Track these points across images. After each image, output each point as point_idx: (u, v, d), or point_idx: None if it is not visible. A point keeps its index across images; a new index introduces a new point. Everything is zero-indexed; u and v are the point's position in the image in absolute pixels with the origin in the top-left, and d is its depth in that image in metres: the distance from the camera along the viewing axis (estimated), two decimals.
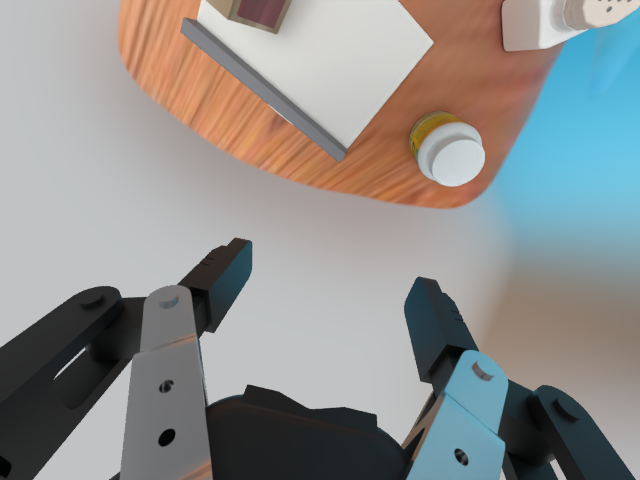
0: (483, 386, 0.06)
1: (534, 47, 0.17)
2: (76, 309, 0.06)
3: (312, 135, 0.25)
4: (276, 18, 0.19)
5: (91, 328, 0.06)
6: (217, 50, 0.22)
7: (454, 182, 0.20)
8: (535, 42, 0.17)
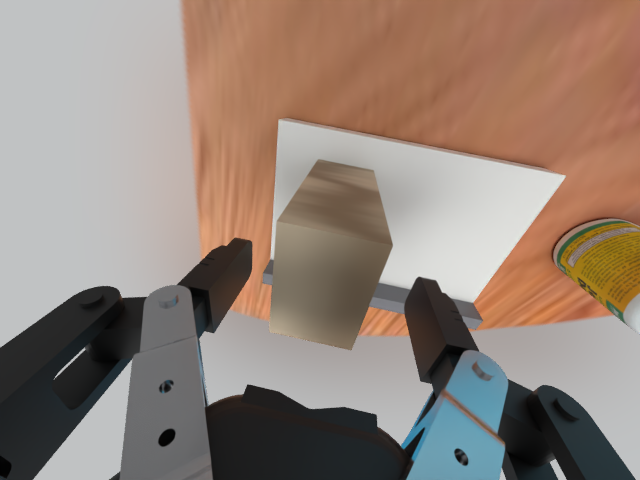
0: (483, 386, 0.06)
1: None
2: (76, 309, 0.06)
3: None
4: None
5: (90, 328, 0.06)
6: None
7: None
8: None
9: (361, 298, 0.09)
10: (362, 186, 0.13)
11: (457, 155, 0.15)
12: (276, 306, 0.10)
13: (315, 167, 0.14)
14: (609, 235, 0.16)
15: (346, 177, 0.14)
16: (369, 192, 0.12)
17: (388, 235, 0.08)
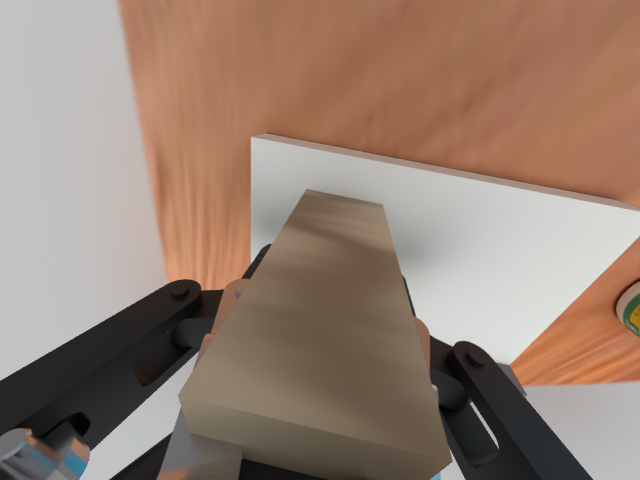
0: None
1: None
2: (166, 297, 0.07)
3: None
4: None
5: (171, 318, 0.06)
6: None
7: None
8: None
9: None
10: (368, 242, 0.08)
11: (502, 186, 0.11)
12: None
13: (300, 206, 0.10)
14: None
15: (344, 222, 0.09)
16: (380, 256, 0.07)
17: (433, 407, 0.04)
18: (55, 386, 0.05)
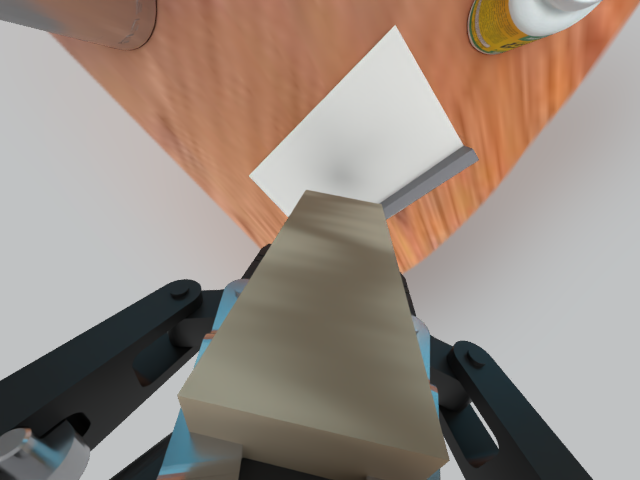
0: None
1: None
2: (166, 297, 0.07)
3: (432, 184, 0.22)
4: None
5: (171, 318, 0.06)
6: None
7: None
8: None
9: None
10: (367, 242, 0.08)
11: (329, 93, 0.21)
12: None
13: (299, 206, 0.10)
14: (480, 3, 0.17)
15: (343, 222, 0.09)
16: (379, 256, 0.07)
17: (431, 406, 0.04)
18: (55, 386, 0.05)
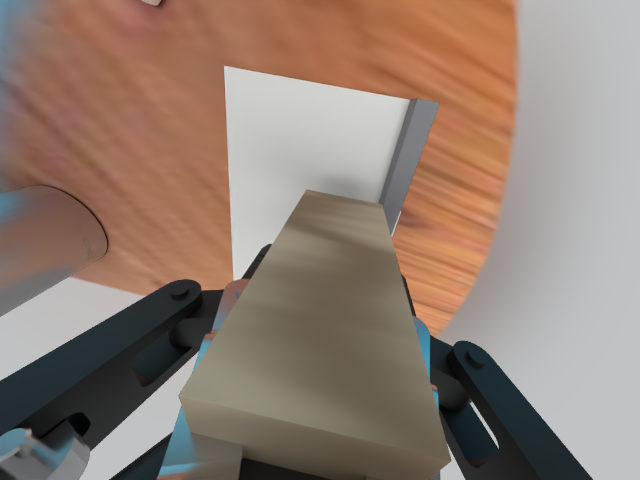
0: None
1: None
2: (166, 297, 0.07)
3: (404, 177, 0.14)
4: None
5: (171, 318, 0.06)
6: None
7: None
8: None
9: None
10: (368, 243, 0.08)
11: (229, 175, 0.18)
12: None
13: (300, 206, 0.10)
14: None
15: (344, 222, 0.09)
16: (380, 256, 0.07)
17: (432, 407, 0.04)
18: (55, 386, 0.05)
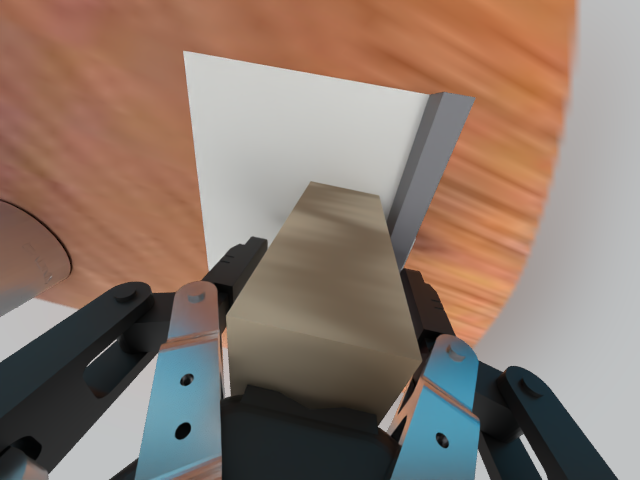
0: (454, 366, 0.06)
1: None
2: (111, 302, 0.07)
3: (422, 197, 0.11)
4: None
5: (121, 322, 0.06)
6: None
7: None
8: None
9: None
10: (365, 224, 0.09)
11: (200, 190, 0.15)
12: None
13: (306, 194, 0.11)
14: None
15: (345, 208, 0.11)
16: (375, 235, 0.09)
17: (411, 332, 0.05)
18: None
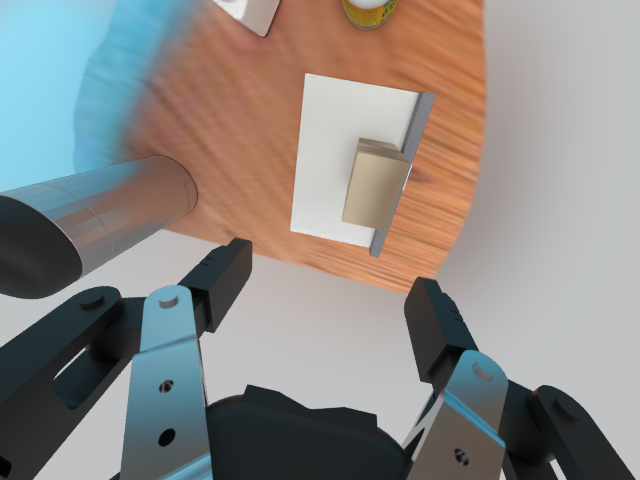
0: (483, 386, 0.06)
1: None
2: (76, 309, 0.06)
3: (415, 140, 0.24)
4: None
5: (91, 328, 0.06)
6: (379, 234, 0.30)
7: None
8: None
9: (393, 194, 0.19)
10: (390, 148, 0.22)
11: (299, 144, 0.28)
12: (348, 203, 0.20)
13: (360, 140, 0.24)
14: (345, 10, 0.21)
15: (380, 144, 0.23)
16: (394, 150, 0.22)
17: (407, 161, 0.18)
18: None
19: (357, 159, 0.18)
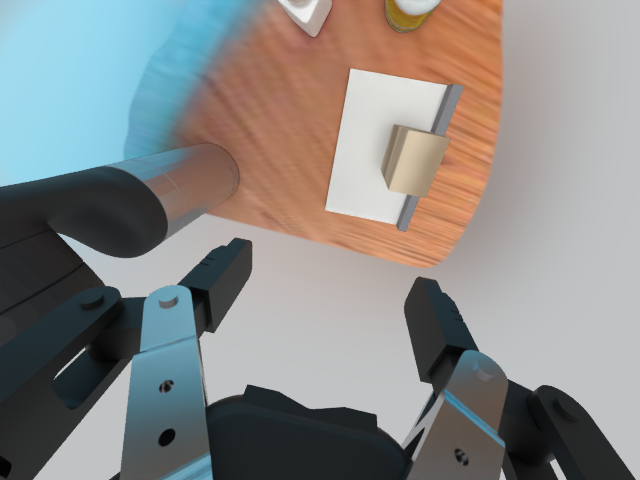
0: (483, 386, 0.06)
1: None
2: (76, 309, 0.06)
3: (444, 125, 0.28)
4: None
5: (91, 328, 0.06)
6: (407, 210, 0.34)
7: None
8: None
9: (434, 165, 0.23)
10: (425, 131, 0.27)
11: None
12: (396, 174, 0.24)
13: (398, 125, 0.28)
14: (389, 15, 0.25)
15: None
16: (430, 132, 0.26)
17: (447, 137, 0.22)
18: None
19: (407, 136, 0.22)
